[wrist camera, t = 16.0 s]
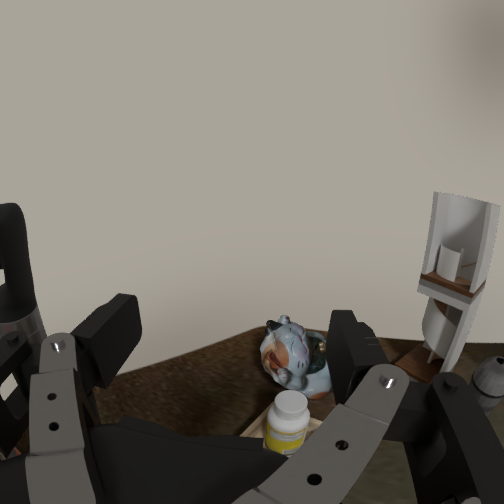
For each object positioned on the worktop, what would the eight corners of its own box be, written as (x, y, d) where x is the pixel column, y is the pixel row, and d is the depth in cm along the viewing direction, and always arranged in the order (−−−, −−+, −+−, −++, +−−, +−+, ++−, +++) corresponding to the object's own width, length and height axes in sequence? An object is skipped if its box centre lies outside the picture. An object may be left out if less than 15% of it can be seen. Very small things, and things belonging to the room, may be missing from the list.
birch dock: (228, 450, 32) (228, 439, 32) (268, 410, 41) (269, 397, 40) (299, 485, 27) (302, 476, 26) (331, 436, 35) (336, 424, 34)
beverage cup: (454, 412, 34) (501, 315, 28) (480, 431, 28) (536, 333, 22) (433, 433, 31) (487, 331, 25) (462, 455, 25) (528, 353, 19)
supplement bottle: (276, 425, 37) (282, 380, 34) (308, 438, 34) (321, 394, 31) (256, 448, 32) (260, 405, 30) (291, 463, 30) (302, 422, 27)
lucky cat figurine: (341, 405, 41) (321, 363, 35) (275, 413, 45) (240, 374, 39) (339, 339, 53) (320, 289, 47) (283, 350, 58) (256, 305, 51)
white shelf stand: (417, 350, 54) (453, 194, 44) (453, 369, 46) (500, 205, 35) (392, 371, 48) (433, 191, 38) (432, 395, 40) (491, 204, 30)
